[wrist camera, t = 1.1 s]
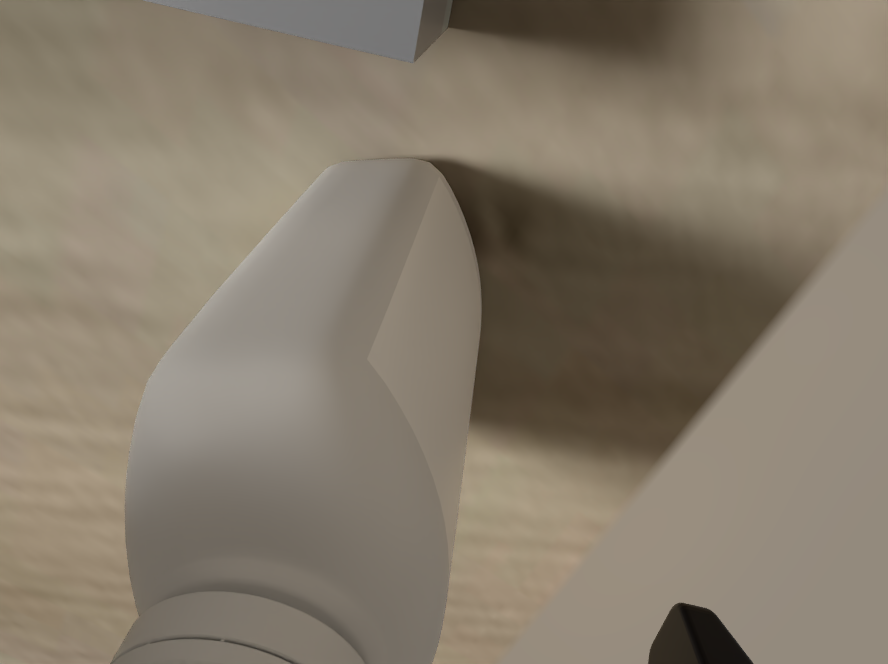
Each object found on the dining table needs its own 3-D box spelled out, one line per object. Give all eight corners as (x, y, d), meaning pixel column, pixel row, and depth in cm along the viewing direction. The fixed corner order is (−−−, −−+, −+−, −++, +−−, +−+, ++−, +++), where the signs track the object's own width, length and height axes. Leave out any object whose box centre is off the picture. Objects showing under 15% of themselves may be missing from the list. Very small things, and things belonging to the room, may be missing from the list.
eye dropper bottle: (562, 218, 13) (688, 1264, 3) (438, 430, 16) (263, 1370, 5) (347, 113, 13) (-508, 909, 2) (257, 350, 15) (-324, 1218, 5)
